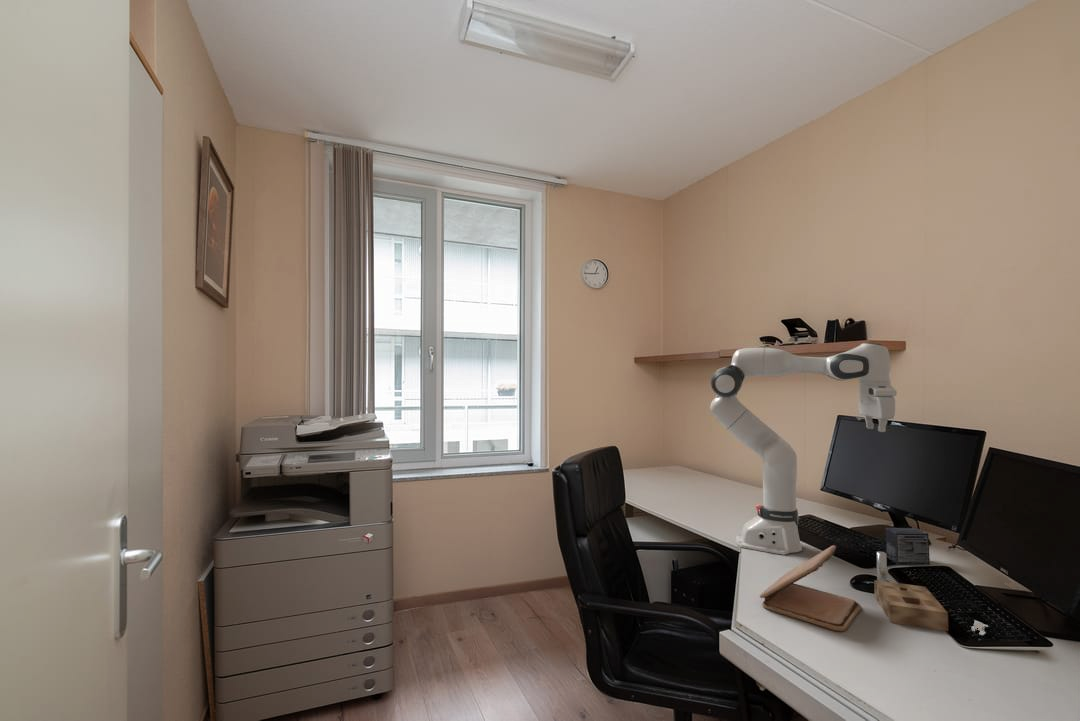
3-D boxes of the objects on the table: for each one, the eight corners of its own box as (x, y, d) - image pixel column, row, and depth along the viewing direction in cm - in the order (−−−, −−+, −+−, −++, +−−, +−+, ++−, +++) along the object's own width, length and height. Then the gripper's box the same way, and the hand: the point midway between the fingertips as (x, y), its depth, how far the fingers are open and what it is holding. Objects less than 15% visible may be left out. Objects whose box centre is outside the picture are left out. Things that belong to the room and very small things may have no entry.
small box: (917, 558, 169) (917, 527, 169) (931, 565, 163) (930, 533, 163) (885, 557, 170) (884, 526, 170) (897, 564, 164) (896, 532, 164)
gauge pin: (878, 591, 143) (877, 553, 144) (876, 588, 145) (875, 550, 146) (888, 592, 142) (887, 554, 143) (886, 589, 145) (885, 551, 145)
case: (783, 584, 149) (781, 531, 149) (864, 607, 134) (862, 548, 134) (756, 608, 135) (754, 549, 135) (843, 636, 120) (841, 570, 120)
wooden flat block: (890, 622, 126) (889, 604, 126) (874, 595, 140) (874, 580, 141) (948, 631, 121) (947, 612, 121) (925, 603, 136) (925, 586, 136)
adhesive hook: (970, 632, 121) (970, 619, 121) (976, 630, 122) (976, 617, 122) (985, 638, 119) (985, 625, 119) (991, 636, 120) (991, 623, 120)
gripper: (853, 388, 179) (853, 426, 179) (876, 390, 159) (877, 433, 159) (872, 388, 177) (873, 427, 177) (899, 390, 158) (900, 433, 157)
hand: (875, 430), depth 168 cm, fingers open, 8 cm apart
